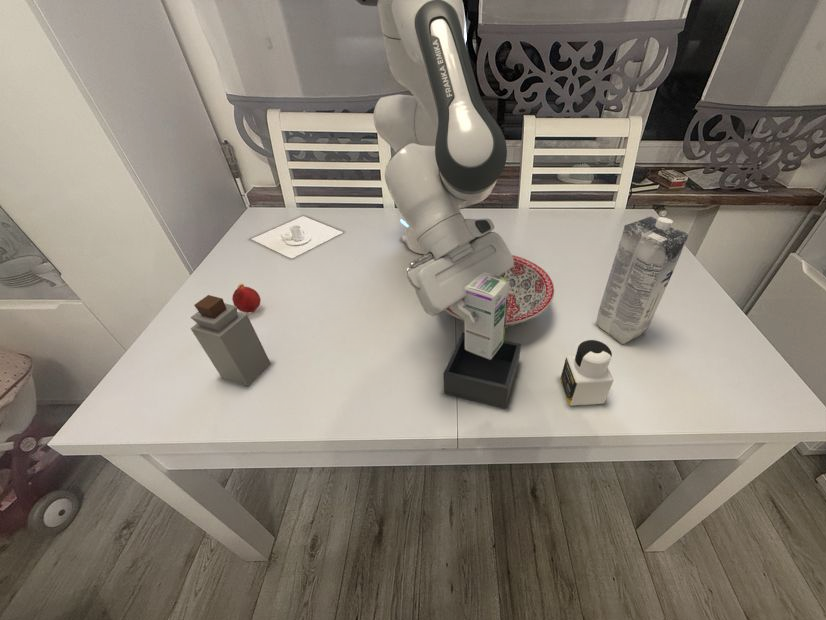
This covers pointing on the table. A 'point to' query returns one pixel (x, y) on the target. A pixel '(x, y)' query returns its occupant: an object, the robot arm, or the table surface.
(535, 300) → the ceramic bowl
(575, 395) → the medicine bottle
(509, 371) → the bin
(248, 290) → the onion
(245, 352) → the perfume bottle
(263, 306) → the table surface
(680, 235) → the juice carton
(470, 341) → the syrup box
